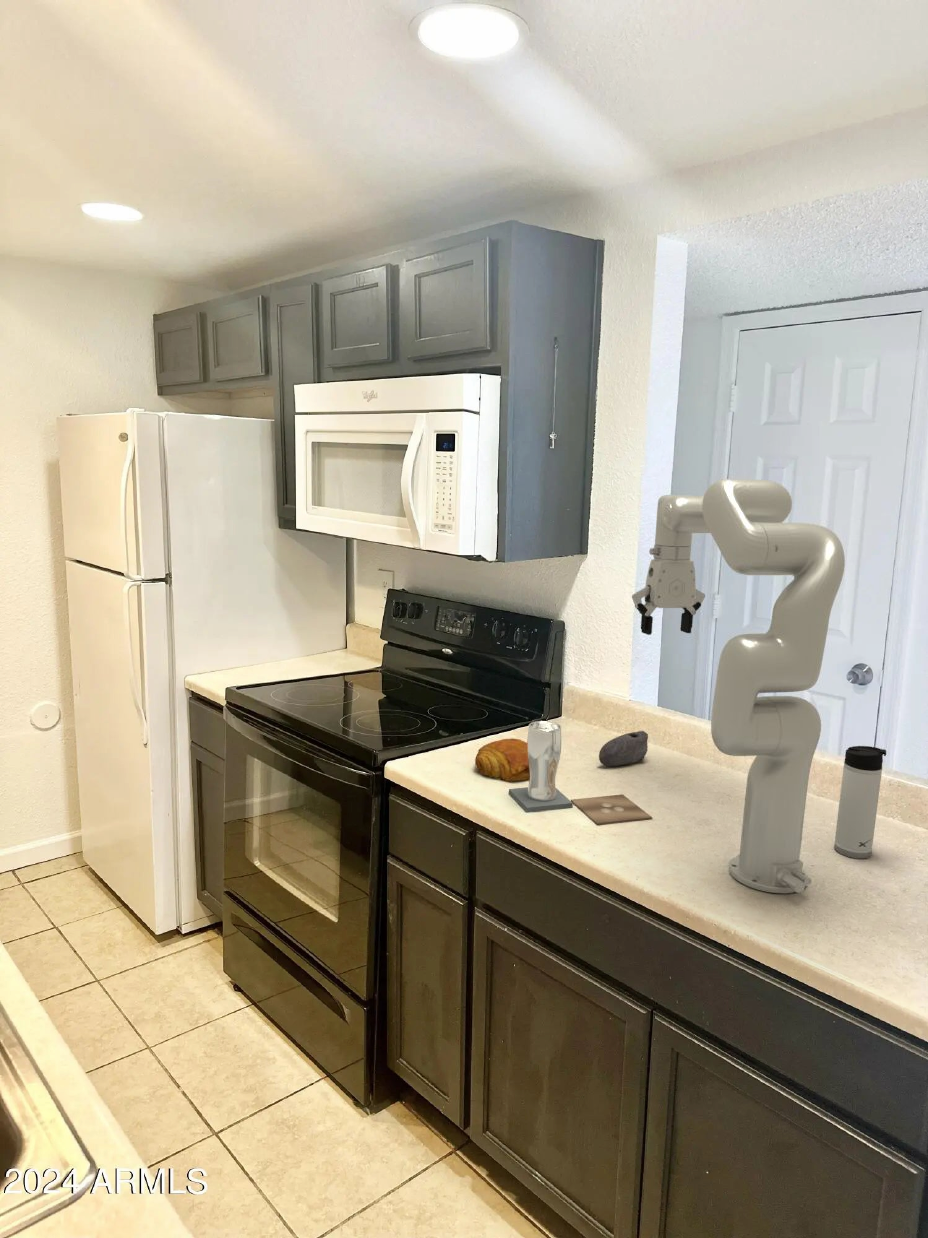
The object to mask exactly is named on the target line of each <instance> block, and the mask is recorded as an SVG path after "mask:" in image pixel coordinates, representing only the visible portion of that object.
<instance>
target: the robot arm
mask: <svg viewBox="0 0 928 1238" xmlns="http://www.w3.org/2000/svg"><path fill="white" fill-rule="evenodd" d="M792 499H793V498H792V496H791V495H790V492H789V490H788V489H787V488H786V487H784V486H783V484H780V483H778V482H776V481H772V480H768V479H767V480H766V479H744V478H743V479H741V478H723V479H719V480H716V481H715V482H713V483H712V484H711V485H709V487H708V488H707V489H706V491H705V492H704V494H703V495H683V494H682V495H681V494H680V495H679V494H663V495H662V496H660V497H659V498H658V501H657V508H656V509H657V510H656V522H655V523H656V524H655V538H654V545H653V547H651V548H650V549H649V555H651V556H653V559H651V560H650V562H649V566H648V570H647V574H646V579H645V580H646V581H645V587H644V588H642V589H639V591H637V592H635V593H633V594H631V599H632V601H633V604H634V607H635V608H636V610H637V611H638V612H639V614H640V615H641V617H640V618H641V619H640V620H641V621H640V629H641V631H640V632H641V633H642V634H645V635H648V636H651V635H652V633H653V622H654V621H653V620H654V617H653V616H651V615H652V614H653V613H654V611H655V610H656V609H657V608H659V609H679V608H681V609H682V610H683V612H682V613H681V616H680V617H681V618H680V620H681V621H680V629H679V630H680V631H681V632H683V633H686V634H691V633H692V628H693V623H694V621H693V619H694V616H695V615H696V614H697V611H698V610H699V609H700V608H701V607H702V603H703V601H704V600H705V598H706V594H705V593H704V592H702V591H700V590H699V589H698V588H696V569H695V563H694V560H691V555H692V554H691V552H692V540H693V539H692V538H693V534H711V536H712V538H713V540H714V541H715V544H716V545H717V547H718V549H719V551H720V553H721V555H722V557H723V560H724V561H725V563H726V564H727V565H728V567H729V568H730V569H731V570H732V571H734V572H735V573H737V574H740V575H745V576H792V577H793V579H792V580H791V581H790V582H789V583H788V584H787V586H785V588H784V589H783V590H782V591H781V592H780V594H779V595H778V597H777V599H776V600H775V602H774V604H773V607H772V615H771V622H770V626H769V629H768V630H767V632H765V633H742V634H737V635H736V636H733V637H732V638H730V640H728V641H727V642H726V644H724V647H723V648H722V651H721V653H720V656H719V658H718V659H719V660H718V666H717V671H716V672H717V673H716V679H715V688H714V692H713V693H714V695H713V701H712V709H711V716H710V717H711V718H710V732H711V733H710V734H711V739H712V742H713V743H714V744H713V745H714V747H716V749H717V750H718V751H719V752H721V753H722V754H724V755H727V756H732V757H753V756H755V758H754V759H753V761H752V763H751V764H750V766H749V770H748V774H747V777H746V786H745V796H744V807H743V817H742V825H741V827H742V828H741V837H740V848H739V854H738V855H736V856H734V857H732V858H731V859H730V861H729V864H728V870H729V874H730V875H731V876H732V877H733V878H734V879H735V880H736V881H738V882H739V883H741V884H742V885H745V886H746V887H749V888H751V889H755V890H758V891H762V892H766V893H771V894H792V893H798V894H800V893H802V892H804V890H805V887H808V886H809V885H811V882H812V880H811V878H810V877H809V876H808V875H807V872H805V870H804V869H803V865H804V862H803V861H802V860H800V857H801V847H802V840H803V829H804V821H805V813H806V811H805V810H806V802H807V796H808V786H809V779H810V772H811V767H812V763H813V759H814V756H815V753H816V750H817V747H818V744H819V740H820V737H821V731H822V719H821V715H820V713H819V710H817V708H816V706H815V705H813V703H811V702H810V701H808V700H806V699H804V698H802V697H798V696H792V695H773V696H772V695H771V696H758V695H759V694H769V693H770V694H771V693H772V694H773V693H795V692H803V691H806V690H809V689H811V688H813V687H814V686H815V685H816V684H817V682H818V680H819V677H820V674H821V671H822V670H821V669H822V665H823V660H824V659H823V658H824V653H825V647H826V642H827V635H828V629H829V623H830V617H831V612H832V608H833V605H834V602H835V600H836V597H837V594H838V592H839V590H840V587H841V584H842V580H843V577H844V573H845V566H846V565H845V564H846V563H845V562H846V560H845V558H846V557H845V552H844V547H843V544H842V542H841V540H840V538H839V537H838V535H837V534H836V533H835V532H834V531H833V530H831V529H830V528H828V527H825V526H823V525H818V524H814V523H805V522H803V523H802V522H784V521H786V519H787V518H788V517H789V516H790V514H791V511H792V508H793V501H792ZM643 598H644V602H645V603H643V602H642V599H643Z"/></svg>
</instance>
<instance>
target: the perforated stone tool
mask: <svg viewBox="0 0 928 1238" xmlns="http://www.w3.org/2000/svg"><path fill="white" fill-rule="evenodd" d="M648 739H649V733H647V732H646V731H644V730H639V731H635V732H634V731H633V732H628V733H625V734H624V733H623V734H622V735H619V736H616V737H615V738H612V739H610V740H609V741H607V742H605V743H604V744H603V745H602V747H601V749H600V750H599V755H598V761H599V763H601V764H602V765H603V766H606V767H617V766H625V765H630V764H635V763H637V762H639V761H643V760H644V759H645V756H646V755H647V752H648Z"/></svg>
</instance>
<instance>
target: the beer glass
mask: <svg viewBox="0 0 928 1238" xmlns="http://www.w3.org/2000/svg"><path fill="white" fill-rule="evenodd" d="M526 743H527V757H528V765H529V774H530V779H528V780H529V781H528V786H527V787H528V790H527V796H528V797H529V798H531V799H533V800H537V801H551V800H553V799H555V798H556V788H557V787H556V778H557V777H556V776H557V772H558V768H559V763H560V759H561V754H562V726H561V724H559V723H557V722H554V721H549V720H548V721H547V720H538V721H532V722H531V723H529V724H528V733H527V741H526Z"/></svg>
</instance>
